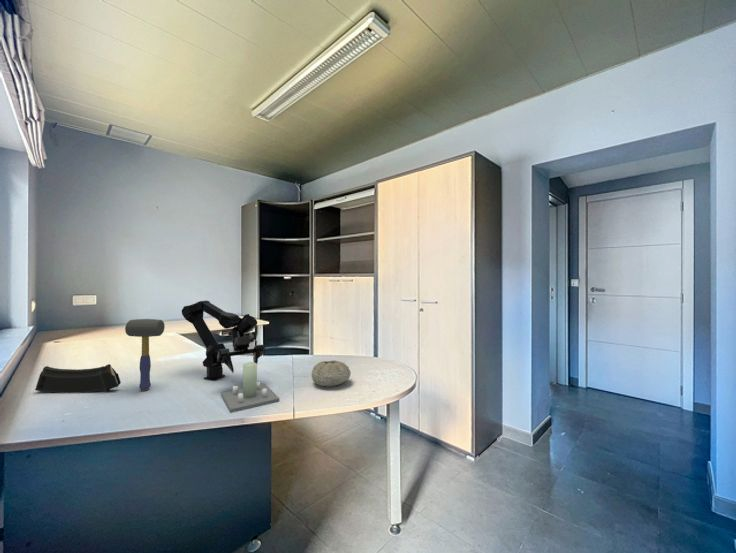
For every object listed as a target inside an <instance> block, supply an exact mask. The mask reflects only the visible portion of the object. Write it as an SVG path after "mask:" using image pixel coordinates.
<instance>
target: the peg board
mask: <svg viewBox="0 0 736 553" xmlns="http://www.w3.org/2000/svg"><path fill="white" fill-rule="evenodd" d="M238 387H239V386H238V385H234V386H232V390H228V391H222V392H220V396H222V397H221V398H222V400H223V402H224V403H226V404H225V405H227V406H226V407H227V410H228V411H229V413H235V412H239V410H240V411H243V409H244V410H248V409H252V408H256V407H260V406H266V405H269V403H270V404H274V403H279V402H280V397H279V396H278V395H277V394H276V393H275V392H274V391H273V390H272V389H271V388H270V386H268V385H267V384H266V383H264V384H261V381H257V395H256V396H255V397H252V398H244V397H243V387H242V388H238ZM234 411H235V412H234Z"/></svg>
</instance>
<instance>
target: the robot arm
mask: <svg viewBox="0 0 736 553" xmlns="http://www.w3.org/2000/svg"><path fill="white" fill-rule="evenodd" d="M205 313H206V314H207V315H209V316H210V317H212V318H214V319H216V320H217V321H218V324H219V325H220V326H221V327H223V329H226V330H227V329H230V330H229V332H228V333H227V336H229V337H231V341H232V348H233V350H232V351H231V350H230V348H226V346H225V344H224V343H219V342H217V340H216V338H215V337H214V335H213V333H212V332H211V330H210V328H209V327H208V324H207V323H206V322H205V320H204V314H205ZM181 316H182V317H184V320H186V321H187V322H189V323H191V324H192V326H193V328H194V329H195V331H196V332H197V334H198V336H199V339H200V340H201V341H202V343H203V345H204V346H205V357H206V358H205V359H204V360H203V361H202V366H203V367H204V368H206V376H204V377H203V379H204V380H209V381H217V380H219V379H222V378H224V377H225V374H223V373H224V370H223V364H224V365H225V366H227V368H228V369H229V371H231V373H232V374H233V373H234V370H235V369H234V365H233V361H232V357H234V356H243V355H250V354H251V355H253V357H252V359H253V361H252V362H254V363H257V364H258V362H259V359H260V357H262V356H263V354H265V350H266V348H265V347H266V346H265V345H264V344H256V345H254V347H253V348H250V344H251V343H253V342H255V335H254V334H252V333H251V334H248V333H250V332H251V331H252V330H253V329H254V328H256V326H257V325H258V320H257V318H255V317H253V315H252V316H251V315H250V314H249V313H246V314H244V315H243V317H240V316H239V314H236V313H233V312H227V311H225V310H223V309H221V308H220V307H218V306H216V305H214V304H213V303H211V301H210V300H199V301H197V302H195V303H192V304H189V305H185V306H183V307H182V309H181ZM246 334H248V335H246ZM249 348H250V349H249Z"/></svg>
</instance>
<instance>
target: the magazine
mask: <svg viewBox="0 0 736 553" xmlns="http://www.w3.org/2000/svg"><path fill="white" fill-rule="evenodd" d="M121 384H122V382H121V379H120V375H119V373H117V371H116V370H115V368H113V367H112V364H110V363H108V364H106V365H102V366H100V367H91V368H83V369H78V368H77V369H72V368H68V369H67V368H55V367H52V366H51V367H50V366H49V365H46V366H44V367H43V368H42V370H41V372H40V374H39V377H38V380H37V383H36V386H35V388H34V391H40V392H48V393H60V394H81V393H82V394H83V393H84V394H85V393H96V392H102V391H107V392H111V391H112V390H111V389H115V388H118V387H119V385H121Z"/></svg>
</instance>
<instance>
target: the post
mask: <svg viewBox="0 0 736 553" xmlns="http://www.w3.org/2000/svg"><path fill="white" fill-rule="evenodd" d="M257 376H258V362H257V363H254V361H252V362H246V363H243V365H242V388H243V397H244V398H252V397H255V396H256V395H257V382H258V379H257V378H258V377H257Z"/></svg>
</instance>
